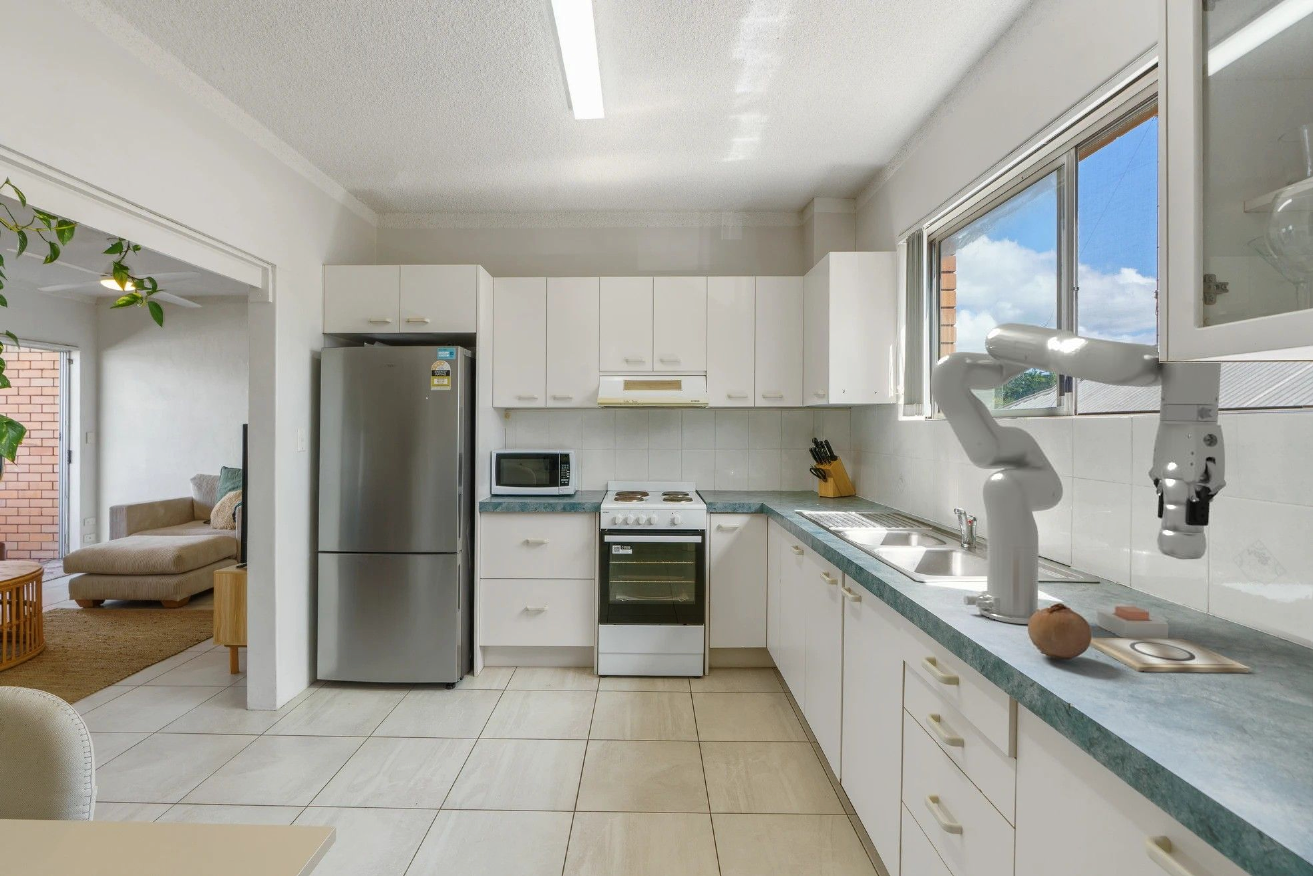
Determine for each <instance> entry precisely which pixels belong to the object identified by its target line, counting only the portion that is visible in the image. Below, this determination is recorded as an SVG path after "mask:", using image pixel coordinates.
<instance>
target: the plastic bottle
mask: <svg viewBox="0 0 1313 876" xmlns="http://www.w3.org/2000/svg"><path fill="white" fill-rule="evenodd" d="M1161 476H1162V485H1163V501H1164V510H1163V516H1162V519H1161V525H1160V528H1159V531H1158V535H1157V539H1156V543H1157V548H1158V550H1159V552H1160V553H1161V554H1162V555H1165V556H1168V557H1171V558H1175V559H1178V560H1200V559H1201V558H1203V557H1204V555H1205V553H1206V550H1207V545H1208V544H1207V539H1206V534H1205V526H1191V525H1187V524H1186V509H1187V501H1191V499H1190V494H1189V490H1188V488H1189V483H1186V482H1184V481H1183V474H1182V471H1181V470H1180V468H1179V467H1178V466H1177V465H1176V464H1174V463H1167V464H1165V465H1164V466H1163V468H1162V471H1161ZM1205 480H1206V478H1204V477H1200V481H1199V482H1205ZM1202 488H1203V487H1199V486H1197V489H1198V492H1199V491H1200V490H1201V489H1202Z"/></svg>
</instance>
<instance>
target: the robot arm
mask: <svg viewBox="0 0 1313 876" xmlns="http://www.w3.org/2000/svg"><path fill="white" fill-rule="evenodd" d="M1158 346H1159V345H1152V344H1151V345H1150V344H1142V343H1134V342H1123V341H1122V342H1121V341H1113V340H1108V339H1107V340H1105V339H1099V338H1093V337H1085V336H1080V335H1076V333H1074V332H1073V331H1070V330H1066V329H1057V328H1050V327H1043V326H1039V325H1033V324H1023V323H1014V322H1008V323H1007V322H1006V323H1001V324H999V325H996V326H995V327H994V328H992V329H991V330H990V331H989V332H988V333H987V336H986V337H985V342H984V347H985V350H986V352H987V353H984V352H983V353H982V352H969V351H968V352H967V351H958V352H952V353H947V354H946V355H943V356H942V357H941V358H940V359H938V360H937V362H936V364H935V365H934V367H933V368H932V371H931V377H930V390H931V394H932V398H933V400H934V401H935V403H936V405H937V407H938V409H939V410H940V412H941V413H942V414H943V416H944V418H946V420H947V422H948V424H949V425H950V426H951V429H952V431H953V433H954V434H955V437H956V438H957V440H958V441H959V443H960V445H961V447H962V448H963V450H964V452H965V454H966V455H967V457H968V459H969V460H970V462H971V463H972V464H973V465H974V466H975V467H977V468H980V469H984V470H997V469H1000V470H997V471H995V472H993V473H992V474H990V475H989V476H988V477H987V478H986V479H985V481H984V484H983V487H982V497H983V499H982V500H983V503H984V504H983V505H984V508H985V509H984V510H985V515H986V523H987V524H986V526H987V528H986V529H987V530H986V532H987V533H986V534H987V537H986V538H987V540H986V541H987V549H986V550H987V557H986V558H987V559H986V560H987V563H986V565H987V566H986V567H987V570H986V577H987V579H986V590H982V591H981V594H979V595H978V596H974V595H964V596H963V603H964V605H966V606H975V607H976V608H978V612H979V614H981V615H982V616H984V617H987V618H988V617H989V619H991V620H994V619H995V621H999V622H1005V623H1010V624H1017V625H1028V624H1029V621H1030V618H1031V617H1032V616H1033V614H1035V613H1036V612H1038V611H1039V610H1040V608H1039V531H1038V526H1037V523H1036V520H1035V517H1034V514H1033V513H1034V512H1041V511H1042V512H1043V511H1046V510H1050V509H1053V508H1054V507H1056V506H1057V505H1058V504H1059V503H1060V501H1061V500H1062V497H1063V493H1064V491H1063V484H1062V481H1061V479H1060V477H1059V475H1058V473H1057V471H1056V470H1055V468H1054V466H1053V465H1052V463H1051V462H1050V460H1049V459H1048V457H1047V456H1046V454H1045V452H1044V451H1043V449H1042V448H1041V446H1040V444H1038V442H1037V441H1036V439H1035V438H1034V437H1033V436H1032V435H1031V434H1030V433H1029V432H1028V431H1026V430H1024V429H1023V428H1020V427H1017V426H1004V425H1003V426H1002V425H1000V424H999V423H998V422H997V421H996V419H995V418H994V417H993V416H992V414H991V412H990V410H989V409H988V407H987V406H986V404H985V403H984V402H983V401H982V400H981V399H980V398H979V397H977V396H976V395H975V393H973V392H972V390H974V391H975V390H976V391H988V390H989V391H990V390H995V389H998V388H1000V387H1002V386H1004V385H1006V384H1007V383H1009V382H1011V381H1013V380H1014V379H1016V378H1018V377H1019V376H1021V375H1023V374H1025V373H1026V372H1027V371H1030V370H1031V369H1035V370H1038V371H1045V372H1049V373H1053V374H1056V375H1063V376H1066V377H1071V378H1074V379H1075V378H1076V379H1081V380H1084V381H1090V382H1094V383H1099V384H1100V383H1101V384H1103V385H1104V384H1105V385H1110V386H1117V387H1136V388H1137V387H1138V388H1139V387H1140V388H1149V387H1150V388H1151V387H1158V386H1161V390H1160V406H1159V422H1158V423H1159V424H1158V427H1157V431H1156V436H1155V441H1154V447H1153V456H1152V467H1151V469H1150V470H1149V471H1148V476H1149V478H1150V479H1151V480H1152V482H1153V485H1154V487H1155V489H1156V490H1155V493H1156V495H1157V496H1158V502H1157V503H1158V504H1157V518H1159V519H1161V520H1162V516H1163V510H1164V501H1163V485H1162V476H1161V471H1162V468H1163V466H1164V465H1165V464H1167V463H1174V464H1176V465H1177V466H1178V467H1179V468H1180V470H1181V471H1182V474H1183V481H1184V482H1186V483H1189V488H1188V490H1189V494H1190V499H1191V501H1187V509H1186V524H1187V525H1191V526H1204V527H1206V526H1208V525H1209V519H1210V504H1211V503H1212V502H1213V501H1214V497H1216V496H1217V494H1218V493H1219V492H1220V491H1221V490H1222V489H1224V487H1226V486H1227V481H1226V480H1225V474H1226V473H1225V472H1226V459H1225V458H1226V455H1225V454H1226V453H1225V441H1224V434H1223V430H1222V425H1221V424H1218V420H1219V403H1220V388H1221V371H1222V362H1221V363H1159V352H1158ZM1200 477H1204V478H1206V480H1205V482H1199V481H1200ZM1197 486H1199V487H1203V488H1202V489H1201V490H1200V491H1199V492H1198V489H1197Z"/></svg>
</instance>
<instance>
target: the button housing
mask: <svg viewBox="0 0 1313 876" xmlns="http://www.w3.org/2000/svg"><path fill="white" fill-rule="evenodd" d="M1096 618H1097V620H1096V621H1097V623H1096V624H1097V625H1098V626H1097V627H1099V626H1100V627H1099V628H1101V627H1102V629H1104V630H1106V631H1108V632H1110V631H1111V632H1110V633H1112V634H1114V633H1115V634H1114V635H1117V636H1118V635H1119V637H1120V638H1147V639H1169V623H1168V622H1165V621H1162V620H1160V619H1158V618H1155V617H1153V616H1151V615H1149V621H1128V620H1126V619H1123V618H1121V617H1119V616H1116V615H1115V610H1097V617H1096Z"/></svg>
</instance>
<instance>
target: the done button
mask: <svg viewBox="0 0 1313 876" xmlns="http://www.w3.org/2000/svg"><path fill="white" fill-rule="evenodd" d="M1114 607H1115V608H1114V611H1115V615H1116V616H1119V617H1121V618H1123V619H1126V620H1128V621H1149V616H1150V612H1149V611H1147V610H1145V609H1142V608H1140V607H1138V606H1129V605H1126V606H1125V605H1118V606H1117V605H1115V606H1114Z"/></svg>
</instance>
